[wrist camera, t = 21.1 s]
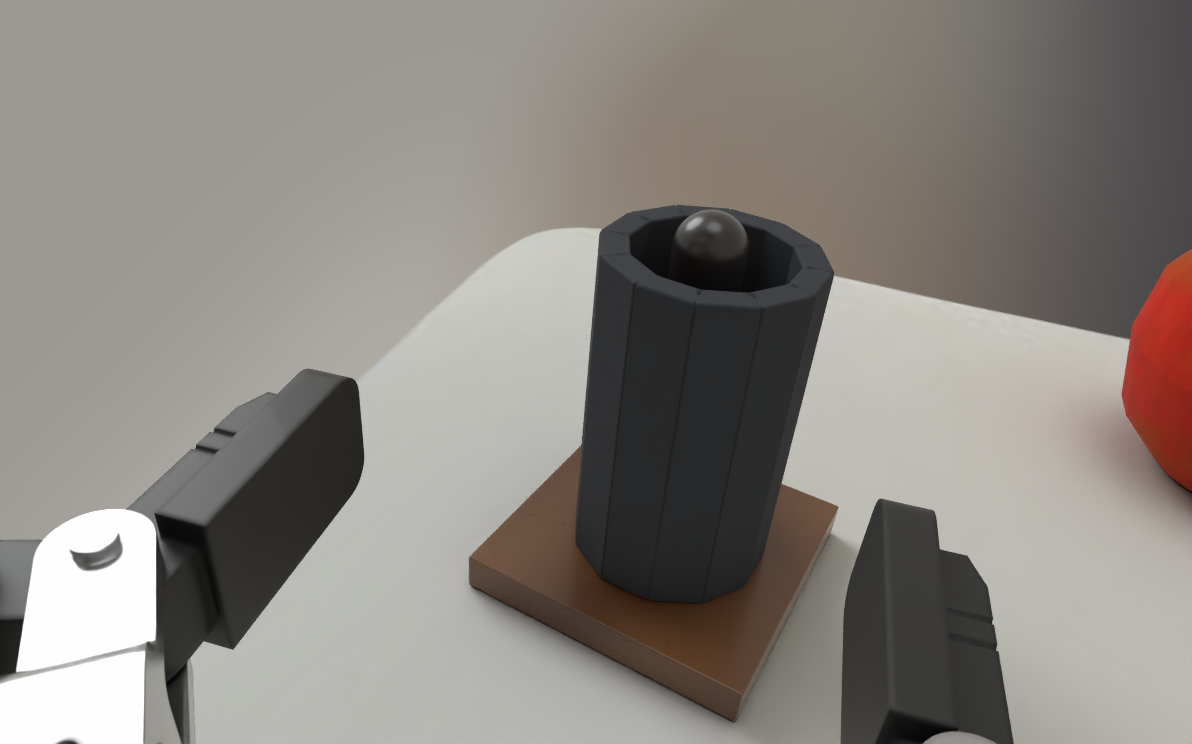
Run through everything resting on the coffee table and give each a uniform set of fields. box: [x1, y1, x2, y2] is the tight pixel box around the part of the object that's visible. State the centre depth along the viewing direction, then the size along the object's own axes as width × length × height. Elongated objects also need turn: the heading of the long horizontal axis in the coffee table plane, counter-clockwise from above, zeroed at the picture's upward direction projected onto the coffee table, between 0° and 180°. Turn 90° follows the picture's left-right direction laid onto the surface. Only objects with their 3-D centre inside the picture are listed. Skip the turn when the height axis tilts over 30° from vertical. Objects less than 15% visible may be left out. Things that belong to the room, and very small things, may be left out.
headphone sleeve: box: [575, 205, 834, 604], centre depth 25 cm, size 6×6×10 cm
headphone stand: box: [469, 210, 838, 722], centre depth 25 cm, size 9×9×12 cm
